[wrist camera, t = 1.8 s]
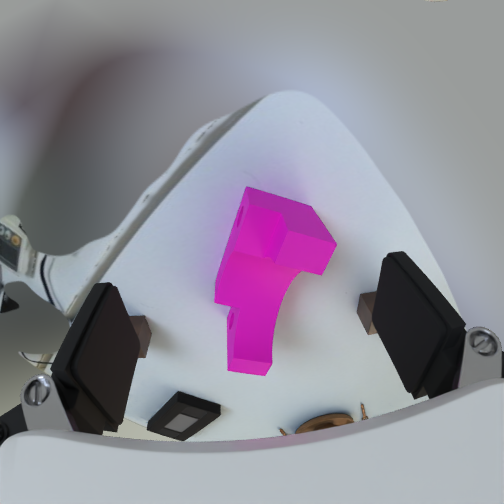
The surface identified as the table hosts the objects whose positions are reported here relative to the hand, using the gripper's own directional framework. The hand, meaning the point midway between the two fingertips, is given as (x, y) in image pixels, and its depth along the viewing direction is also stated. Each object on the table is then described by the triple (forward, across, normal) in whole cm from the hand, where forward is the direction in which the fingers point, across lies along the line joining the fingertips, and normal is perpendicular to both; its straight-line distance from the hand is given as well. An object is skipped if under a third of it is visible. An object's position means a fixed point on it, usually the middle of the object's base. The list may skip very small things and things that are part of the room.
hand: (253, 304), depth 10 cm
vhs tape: (+17, +14, +38) cm, 44 cm away
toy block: (+17, 0, +9) cm, 20 cm away
